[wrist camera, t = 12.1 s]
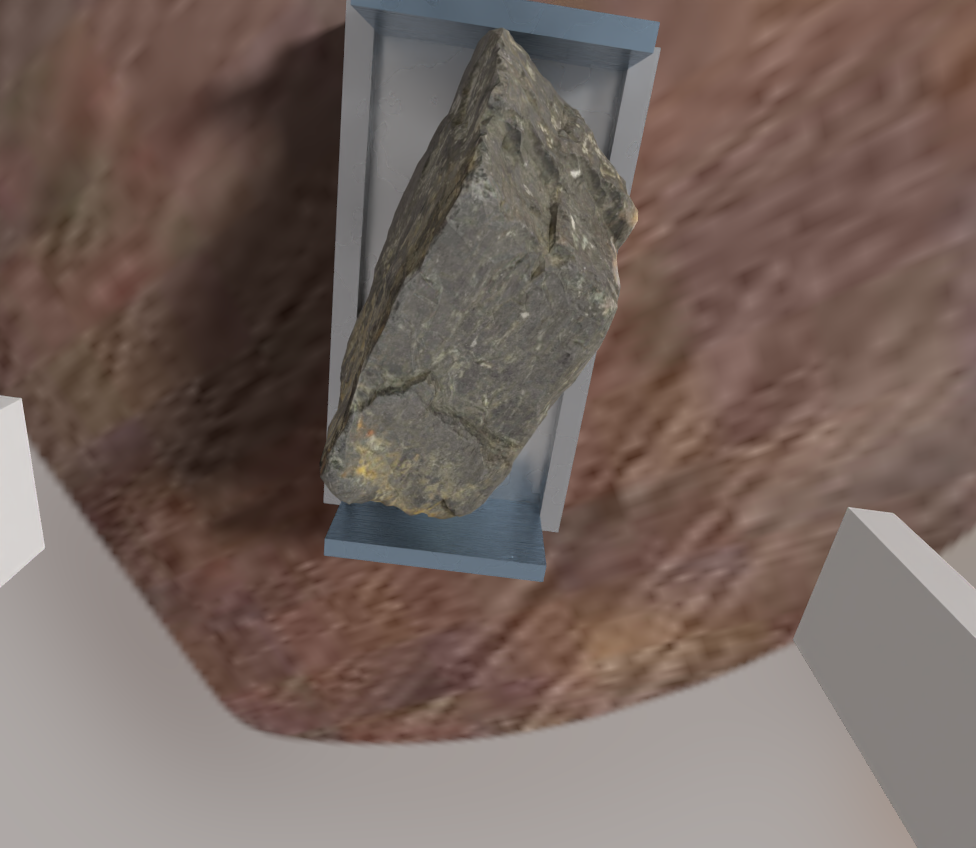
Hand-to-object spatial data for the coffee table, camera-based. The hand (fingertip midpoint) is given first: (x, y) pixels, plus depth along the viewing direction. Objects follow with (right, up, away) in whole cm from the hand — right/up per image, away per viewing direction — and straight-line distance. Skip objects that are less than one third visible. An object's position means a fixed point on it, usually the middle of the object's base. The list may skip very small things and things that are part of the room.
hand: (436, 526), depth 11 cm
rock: (+1, +7, +15) cm, 16 cm away
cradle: (0, +8, +18) cm, 20 cm away
